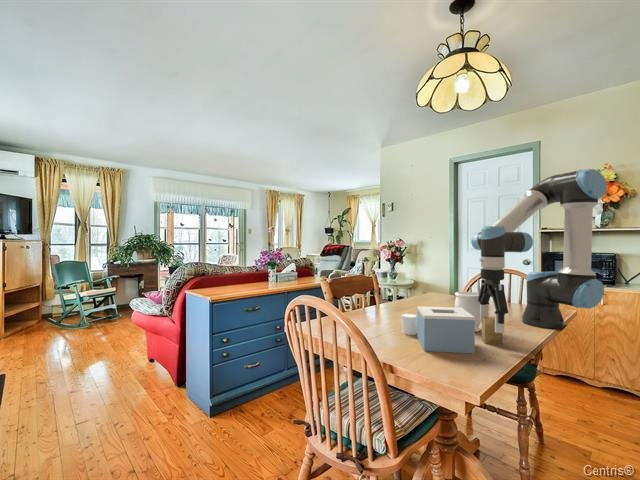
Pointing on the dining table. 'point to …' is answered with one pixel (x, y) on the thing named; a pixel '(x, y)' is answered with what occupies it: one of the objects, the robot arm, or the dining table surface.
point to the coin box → (446, 329)
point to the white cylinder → (409, 324)
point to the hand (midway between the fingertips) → (491, 327)
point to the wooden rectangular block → (490, 332)
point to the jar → (469, 305)
